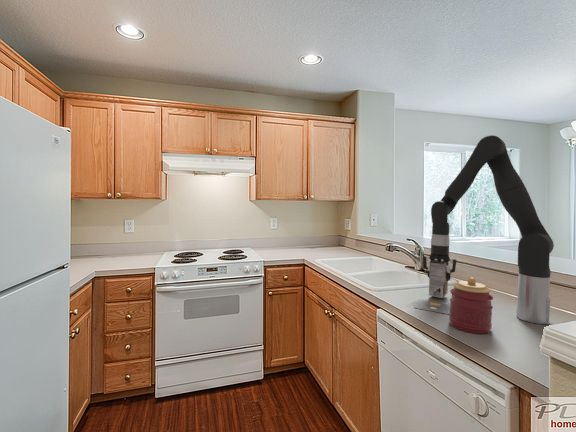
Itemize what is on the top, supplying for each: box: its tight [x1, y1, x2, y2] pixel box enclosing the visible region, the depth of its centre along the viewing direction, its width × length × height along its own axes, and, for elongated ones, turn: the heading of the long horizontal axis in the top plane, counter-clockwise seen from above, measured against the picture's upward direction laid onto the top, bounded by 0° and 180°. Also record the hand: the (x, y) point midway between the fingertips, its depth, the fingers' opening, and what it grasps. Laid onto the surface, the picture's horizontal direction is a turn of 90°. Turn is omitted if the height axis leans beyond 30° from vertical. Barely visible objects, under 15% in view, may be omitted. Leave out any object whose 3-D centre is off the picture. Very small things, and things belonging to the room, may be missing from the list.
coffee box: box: [428, 260, 449, 299], centre depth 138 cm, size 9×6×16 cm
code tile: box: [413, 298, 450, 315], centre depth 125 cm, size 14×14×1 cm
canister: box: [448, 277, 494, 335], centre depth 105 cm, size 13×13×18 cm
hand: (438, 279), depth 138 cm, fingers closed on coffee box, 6 cm apart
